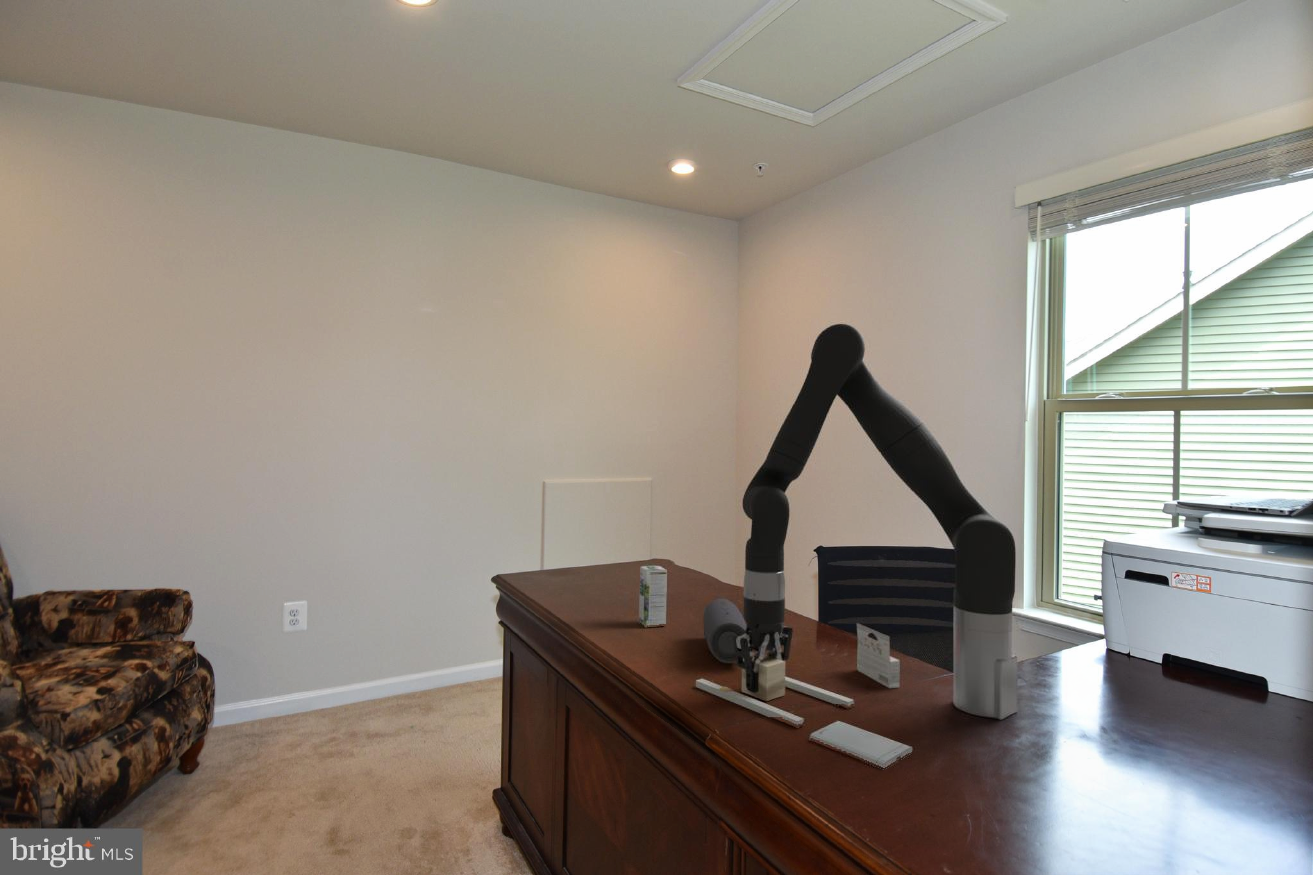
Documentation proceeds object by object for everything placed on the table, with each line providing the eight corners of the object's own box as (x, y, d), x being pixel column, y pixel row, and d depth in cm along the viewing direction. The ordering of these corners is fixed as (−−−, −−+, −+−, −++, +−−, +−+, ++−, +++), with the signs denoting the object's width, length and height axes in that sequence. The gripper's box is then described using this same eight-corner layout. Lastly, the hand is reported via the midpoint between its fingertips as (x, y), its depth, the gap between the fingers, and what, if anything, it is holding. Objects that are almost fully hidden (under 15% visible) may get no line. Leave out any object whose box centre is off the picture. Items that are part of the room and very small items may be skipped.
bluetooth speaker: (752, 670, 137) (753, 620, 137) (706, 669, 137) (707, 619, 137) (741, 638, 159) (741, 596, 160) (701, 638, 160) (701, 595, 160)
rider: (785, 694, 122) (785, 660, 123) (766, 701, 119) (766, 666, 119) (760, 685, 127) (760, 653, 127) (741, 691, 124) (741, 658, 124)
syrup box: (638, 622, 173) (638, 565, 173) (660, 621, 175) (660, 565, 175) (644, 628, 168) (645, 569, 168) (667, 626, 169) (667, 568, 170)
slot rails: (853, 706, 117) (853, 698, 117) (797, 728, 108) (797, 719, 108) (751, 670, 136) (751, 663, 136) (695, 686, 127) (695, 679, 127)
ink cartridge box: (866, 669, 138) (866, 621, 138) (900, 688, 127) (900, 636, 128) (855, 670, 137) (856, 622, 138) (889, 689, 127) (889, 636, 127)
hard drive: (809, 733, 104) (884, 761, 94) (839, 719, 109) (912, 744, 100) (809, 744, 104) (884, 773, 94) (839, 730, 109) (912, 756, 100)
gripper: (752, 603, 116) (751, 703, 116) (805, 593, 125) (804, 685, 125) (721, 595, 122) (720, 690, 122) (774, 586, 131) (773, 674, 131)
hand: (763, 687), depth 123 cm, fingers closed on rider, 5 cm apart
